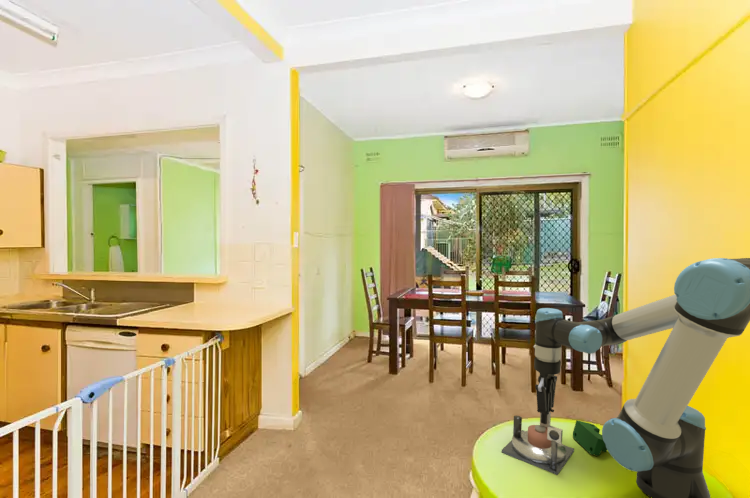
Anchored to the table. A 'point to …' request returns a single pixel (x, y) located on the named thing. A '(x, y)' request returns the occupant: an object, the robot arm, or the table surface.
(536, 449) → the turntable
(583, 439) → the clamp
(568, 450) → the turntable base
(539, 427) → the cover
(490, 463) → the table surface
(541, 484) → the table surface
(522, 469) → the table surface
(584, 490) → the table surface
